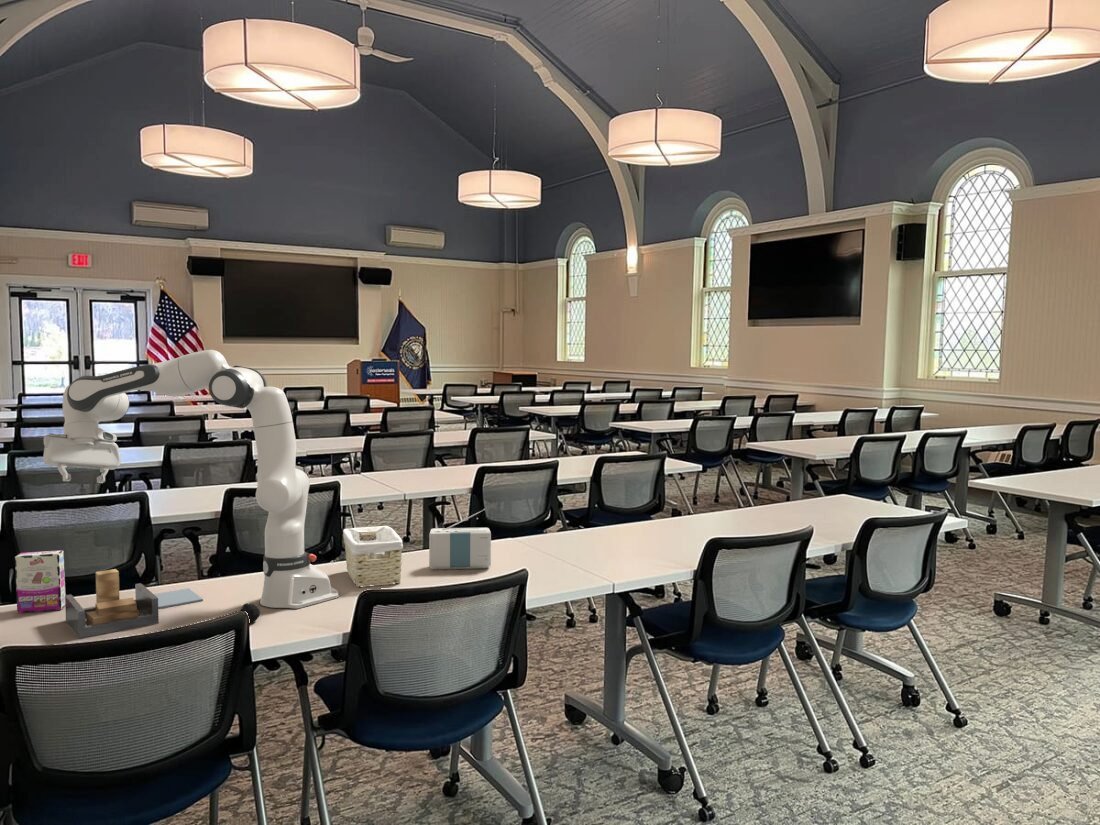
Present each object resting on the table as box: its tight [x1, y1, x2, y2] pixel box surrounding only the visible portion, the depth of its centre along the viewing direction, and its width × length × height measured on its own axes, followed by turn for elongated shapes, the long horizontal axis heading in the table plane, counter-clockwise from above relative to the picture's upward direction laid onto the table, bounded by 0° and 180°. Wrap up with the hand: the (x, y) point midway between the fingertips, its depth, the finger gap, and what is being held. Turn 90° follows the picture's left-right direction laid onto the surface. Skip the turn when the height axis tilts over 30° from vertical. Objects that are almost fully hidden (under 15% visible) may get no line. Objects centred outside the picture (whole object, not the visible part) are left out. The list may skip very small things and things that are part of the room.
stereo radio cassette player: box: [428, 508, 492, 570], centre depth 279 cm, size 21×8×20 cm, turn 97°
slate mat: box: [153, 587, 204, 610], centre depth 240 cm, size 14×14×1 cm
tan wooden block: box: [95, 568, 121, 603], centre depth 223 cm, size 5×4×13 cm
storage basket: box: [342, 525, 404, 588], centre depth 266 cm, size 24×16×15 cm
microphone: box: [235, 602, 261, 625], centre depth 216 cm, size 6×6×20 cm
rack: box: [64, 582, 160, 640], centre depth 220 cm, size 19×18×7 cm
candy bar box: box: [14, 549, 66, 614], centre depth 230 cm, size 11×5×16 cm, turn 106°
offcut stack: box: [85, 597, 141, 626], centre depth 218 cm, size 12×7×6 cm, turn 131°
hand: (84, 481), depth 231 cm, fingers open, 8 cm apart
